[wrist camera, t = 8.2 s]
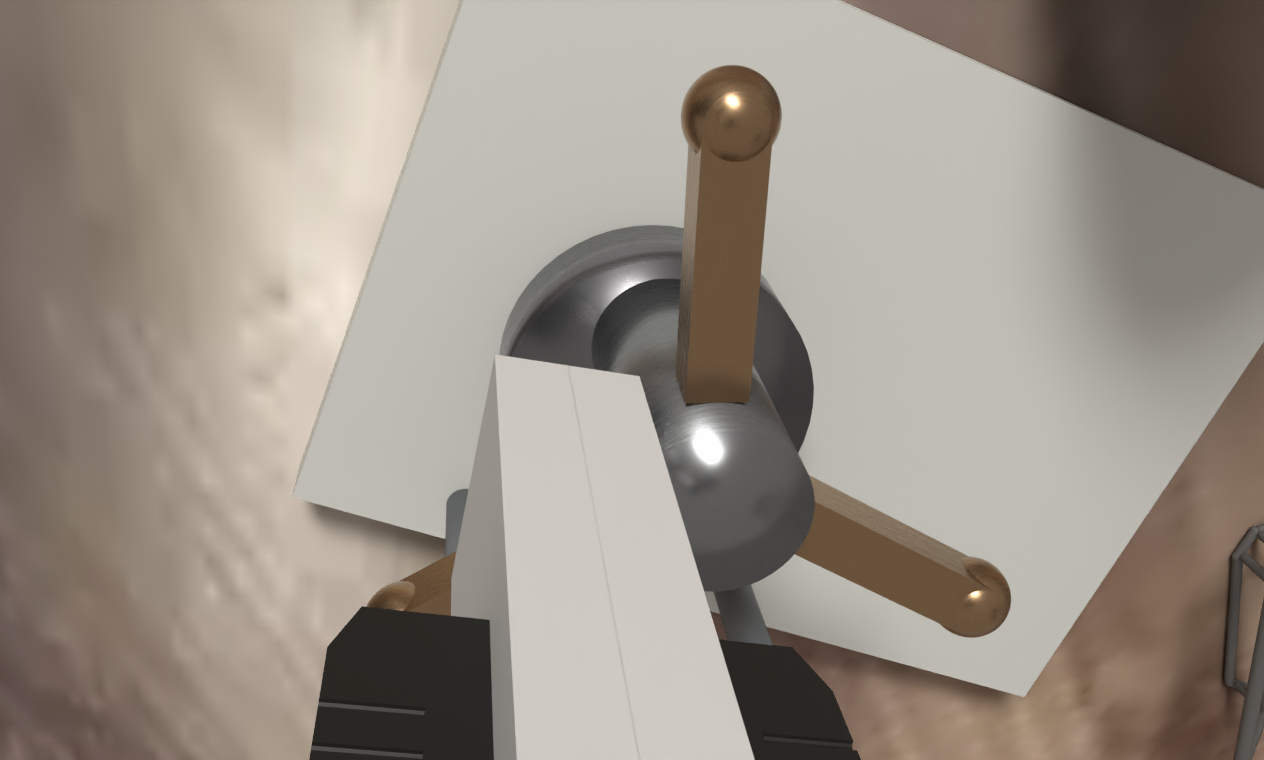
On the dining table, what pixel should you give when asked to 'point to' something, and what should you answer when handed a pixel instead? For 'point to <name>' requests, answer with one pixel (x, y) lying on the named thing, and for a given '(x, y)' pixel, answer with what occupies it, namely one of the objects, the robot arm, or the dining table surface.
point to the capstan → (724, 383)
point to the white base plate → (825, 293)
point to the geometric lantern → (1260, 690)
